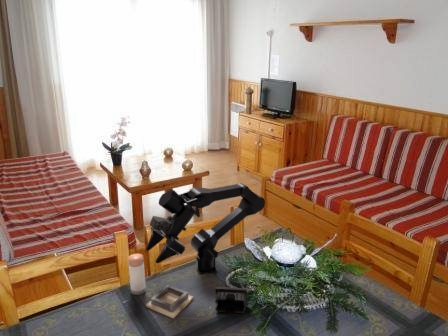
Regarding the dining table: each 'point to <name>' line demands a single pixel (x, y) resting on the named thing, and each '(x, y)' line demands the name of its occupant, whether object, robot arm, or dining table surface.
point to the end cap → (230, 301)
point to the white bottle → (137, 274)
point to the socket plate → (170, 301)
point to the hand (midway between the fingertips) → (151, 256)
